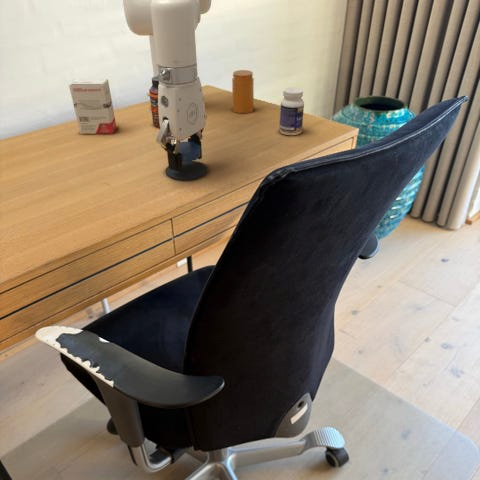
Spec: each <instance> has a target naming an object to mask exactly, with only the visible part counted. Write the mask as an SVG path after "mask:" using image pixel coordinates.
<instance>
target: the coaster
mask: <svg viewBox="0 0 480 480" xmlns="http://www.w3.org/2000/svg"><path fill="white" fill-rule="evenodd" d="M207 173H208V166H207V165H206V164H204V163H203V162H200V161H196V160H194V161H187V162H182V171H181V172H179V171H175V170H172V169H169V165H168V166H166V168H165V175H166V176H167V177H168V178H170V179H172V180H175V181H183V182H184V181H185V182H187V181H194V180H198V179H201V178H203V177H204V176H206V174H207Z"/></svg>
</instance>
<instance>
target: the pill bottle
mask: <svg viewBox="0 0 480 480" xmlns="http://www.w3.org/2000/svg"><path fill="white" fill-rule="evenodd" d="M282 96H283V98H282V99H281V101H280V110H279V111H280V112H279V113H280V114H279V132H280V133H281V134H282V135H284V136H285V135H286V136H297V135H300V134H301V133H302V132H303V121H304V109H305V101H304V100H303V98H302V97H303V96H304V90H303V89H302V88H300V87H285V88H284V89H283V91H282Z"/></svg>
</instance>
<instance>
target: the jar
mask: <svg viewBox="0 0 480 480" xmlns="http://www.w3.org/2000/svg"><path fill="white" fill-rule="evenodd" d="M253 74H254V73H253V71H251V70H248V69H239V70H234V71H233V72H232V79H231V85H232V87H231V88H232V91H231V92H232V93H231V95H232V111H233V112H235V113H237V114H249V113H252V112H253V111H254V109H255V108H254V106H255V105H254V103H255V102H254V101H255V100H254V99H255V97H254V96H255V95H254V94H255V91H254V89H255V78H254V76H253Z"/></svg>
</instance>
